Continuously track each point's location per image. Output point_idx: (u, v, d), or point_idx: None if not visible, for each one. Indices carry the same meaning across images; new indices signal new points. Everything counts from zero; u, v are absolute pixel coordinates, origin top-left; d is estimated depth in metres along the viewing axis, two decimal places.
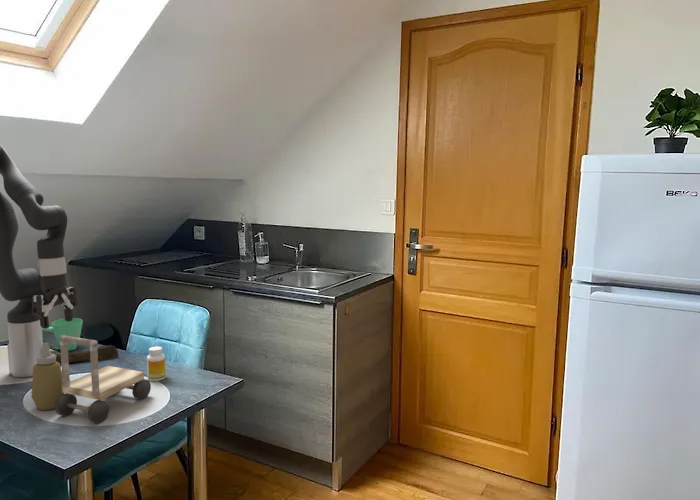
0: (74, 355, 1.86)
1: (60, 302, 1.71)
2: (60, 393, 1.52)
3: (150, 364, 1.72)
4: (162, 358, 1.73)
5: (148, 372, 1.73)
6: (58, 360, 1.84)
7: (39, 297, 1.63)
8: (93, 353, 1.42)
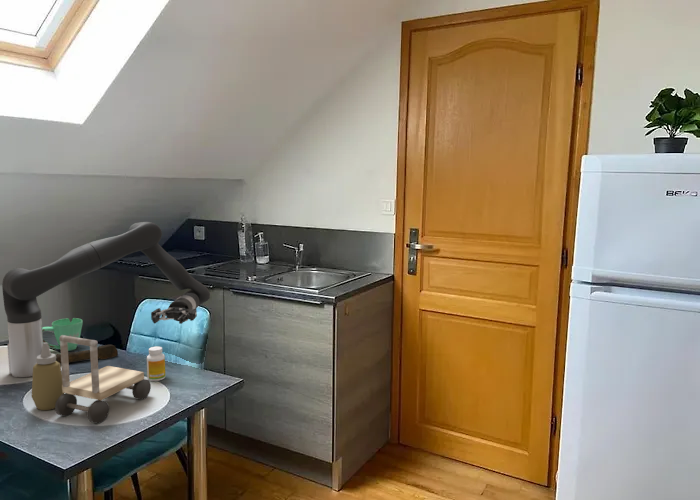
0: (74, 355, 1.86)
1: (171, 317, 1.91)
2: (60, 393, 1.52)
3: (150, 364, 1.72)
4: (162, 358, 1.73)
5: (148, 372, 1.73)
6: (58, 360, 1.84)
7: None
8: (93, 353, 1.42)
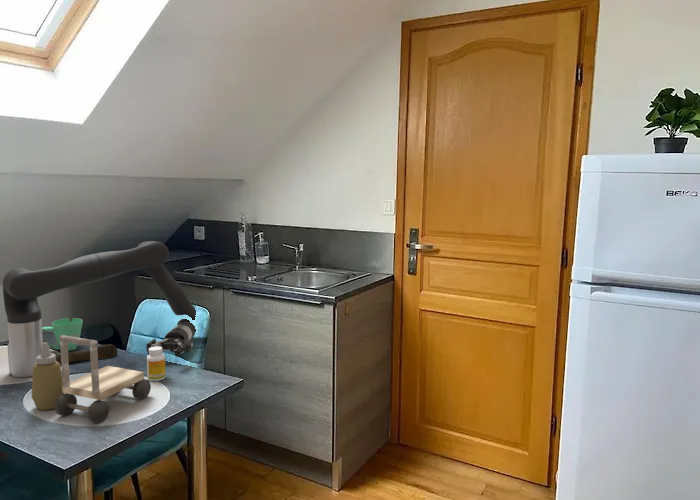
0: (74, 355, 1.86)
1: None
2: (60, 393, 1.52)
3: (150, 364, 1.72)
4: (162, 358, 1.73)
5: (148, 372, 1.73)
6: (59, 360, 1.84)
7: None
8: (93, 353, 1.42)
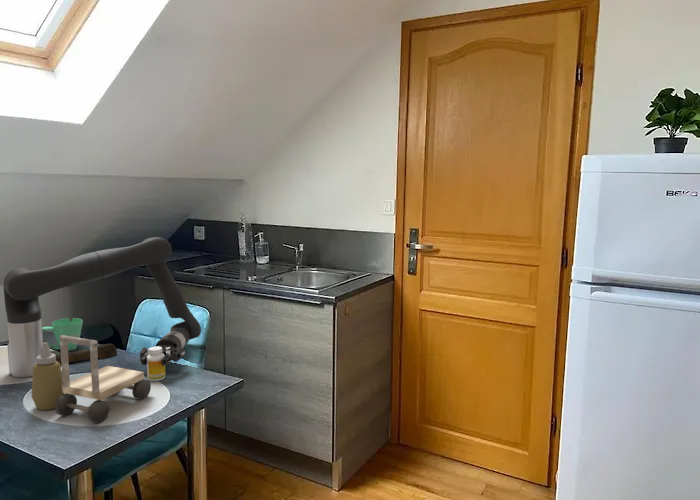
0: (75, 355, 1.87)
1: None
2: (60, 393, 1.52)
3: (149, 364, 1.72)
4: None
5: (148, 372, 1.73)
6: (59, 360, 1.84)
7: None
8: (93, 353, 1.42)
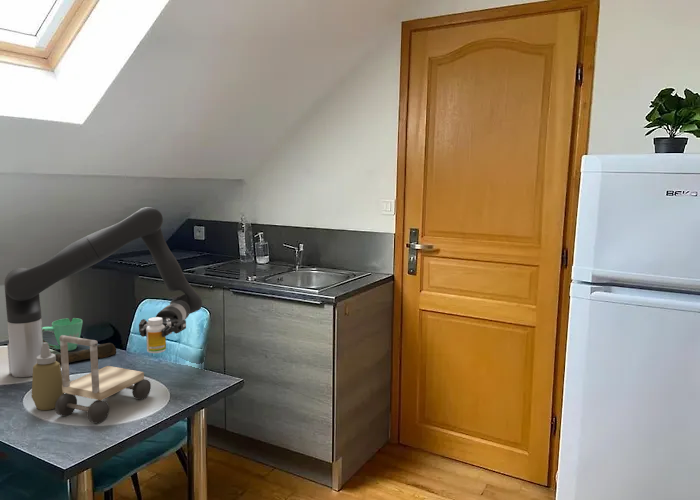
0: (75, 354, 1.87)
1: None
2: (60, 393, 1.52)
3: (149, 335, 1.62)
4: (162, 329, 1.64)
5: (148, 344, 1.63)
6: (59, 360, 1.84)
7: None
8: (93, 353, 1.42)
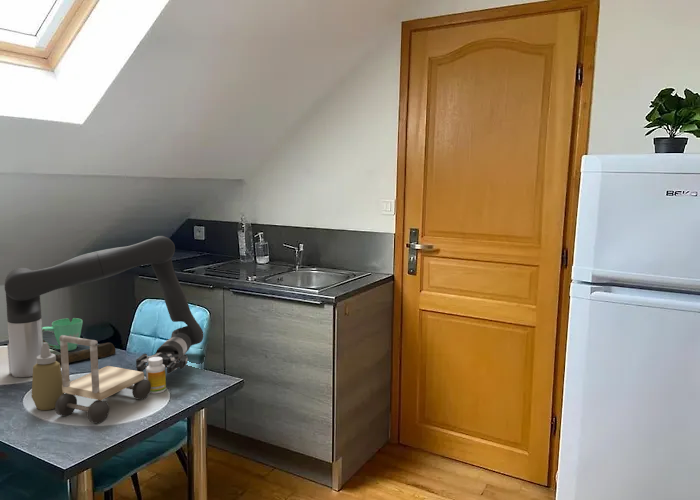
0: (75, 354, 1.87)
1: None
2: (60, 393, 1.52)
3: (149, 375, 1.63)
4: (162, 369, 1.64)
5: None
6: (60, 361, 1.83)
7: None
8: (93, 353, 1.42)
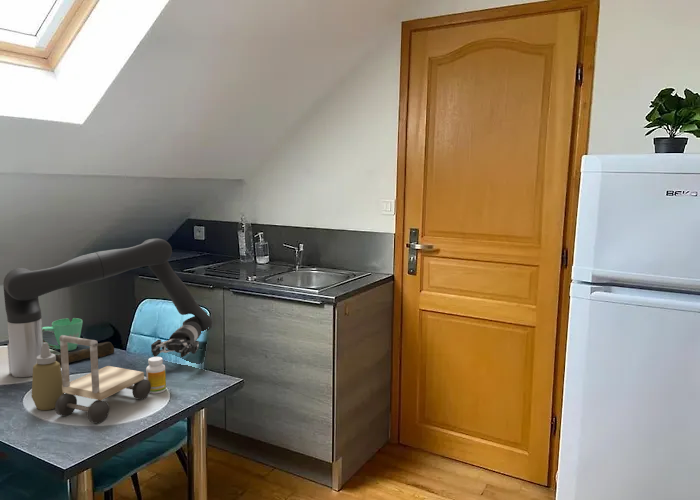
0: (75, 354, 1.87)
1: None
2: (60, 393, 1.52)
3: (149, 375, 1.63)
4: (162, 369, 1.64)
5: None
6: None
7: None
8: (93, 353, 1.42)
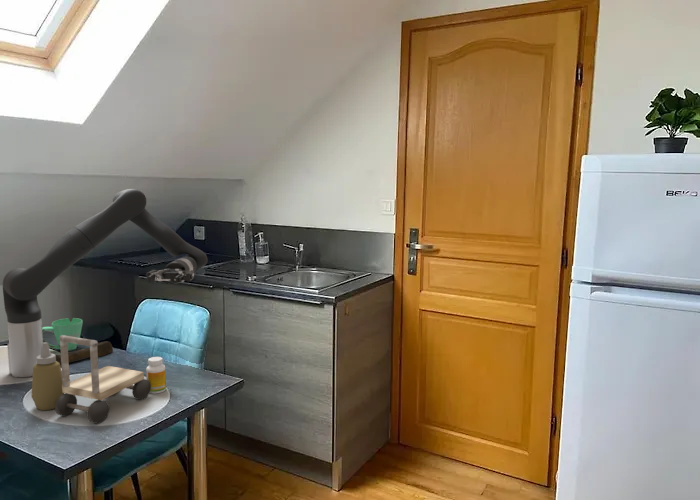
0: (75, 354, 1.87)
1: (167, 278, 1.84)
2: (60, 393, 1.52)
3: (149, 375, 1.63)
4: (162, 369, 1.64)
5: None
6: None
7: None
8: (93, 353, 1.42)
